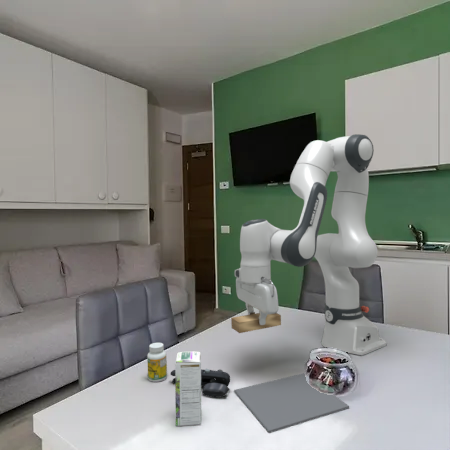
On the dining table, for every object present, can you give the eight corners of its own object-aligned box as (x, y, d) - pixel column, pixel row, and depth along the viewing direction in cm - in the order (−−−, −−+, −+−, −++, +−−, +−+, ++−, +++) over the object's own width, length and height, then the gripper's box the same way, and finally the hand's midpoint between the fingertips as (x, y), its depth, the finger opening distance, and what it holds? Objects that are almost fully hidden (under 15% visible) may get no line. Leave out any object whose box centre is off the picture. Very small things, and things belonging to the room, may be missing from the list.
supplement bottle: (170, 376, 96) (170, 343, 96) (157, 384, 92) (156, 350, 92) (157, 371, 99) (156, 340, 99) (143, 379, 95) (142, 346, 95)
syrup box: (177, 411, 79) (175, 351, 79) (201, 410, 80) (200, 350, 79) (175, 427, 73) (173, 362, 73) (202, 425, 74) (201, 360, 73)
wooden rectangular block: (271, 320, 104) (271, 310, 104) (281, 325, 99) (280, 315, 99) (231, 327, 98) (231, 317, 98) (239, 333, 93) (239, 322, 93)
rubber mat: (303, 374, 96) (303, 373, 96) (349, 408, 79) (349, 406, 79) (234, 391, 87) (234, 389, 87) (268, 433, 71) (268, 430, 71)
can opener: (235, 388, 90) (234, 367, 89) (224, 402, 83) (224, 380, 83) (178, 376, 97) (178, 357, 97) (164, 388, 90) (164, 368, 90)
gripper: (283, 279, 89) (284, 330, 90) (250, 268, 108) (250, 310, 109) (263, 282, 87) (263, 334, 88) (232, 270, 106) (233, 313, 107)
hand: (256, 320), depth 98 cm, fingers closed on wooden rectangular block, 5 cm apart
